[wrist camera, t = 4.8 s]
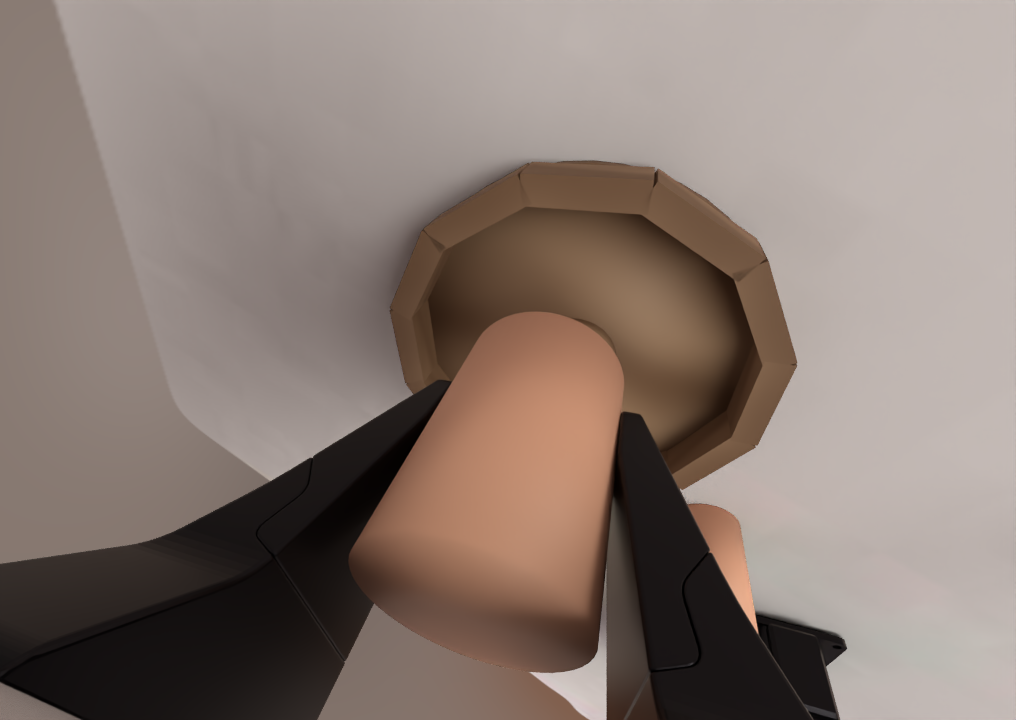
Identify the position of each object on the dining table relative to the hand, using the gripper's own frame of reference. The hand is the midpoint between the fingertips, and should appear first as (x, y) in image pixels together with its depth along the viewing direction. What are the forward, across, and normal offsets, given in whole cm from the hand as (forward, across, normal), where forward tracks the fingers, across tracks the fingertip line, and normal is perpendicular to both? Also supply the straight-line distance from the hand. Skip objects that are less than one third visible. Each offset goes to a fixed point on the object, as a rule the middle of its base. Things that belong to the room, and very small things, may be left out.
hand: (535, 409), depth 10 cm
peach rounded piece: (+1, 0, 0) cm, 1 cm away
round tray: (+9, 0, +4) cm, 10 cm away
